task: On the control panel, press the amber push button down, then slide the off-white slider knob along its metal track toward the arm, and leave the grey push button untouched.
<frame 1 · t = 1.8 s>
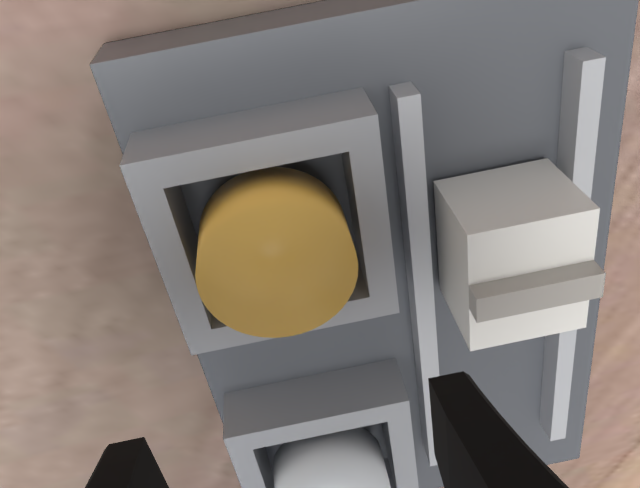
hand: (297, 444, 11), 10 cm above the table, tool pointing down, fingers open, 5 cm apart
amber button: (275, 253, 16), point 4 cm above the table, slide at 0.0 cm
slider knob: (513, 259, 17), point 4 cm above the table, slide at 0.0 cm
control panel: (388, 280, 22), on the table
grey button: (331, 484, 21), point 4 cm above the table, slide at 0.0 cm
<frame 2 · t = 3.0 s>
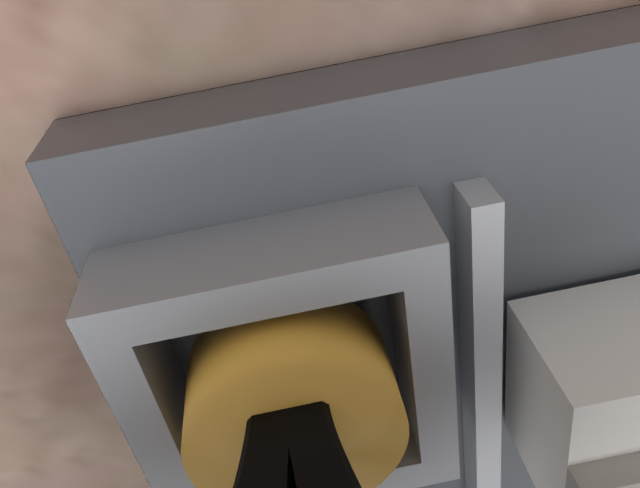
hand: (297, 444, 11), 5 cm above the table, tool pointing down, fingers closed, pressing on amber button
amber button: (292, 404, 11), point 4 cm above the table, slide at 0.5 cm, touching gripper
slider knob: (619, 412, 12), point 4 cm above the table, slide at 0.0 cm
control panel: (431, 396, 17), on the table
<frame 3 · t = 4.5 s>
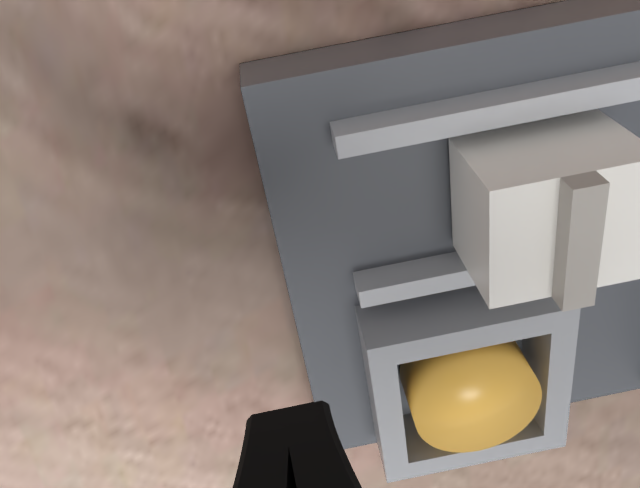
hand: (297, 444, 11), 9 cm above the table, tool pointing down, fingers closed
amber button: (467, 385, 19), point 3 cm above the table, slide at 1.0 cm
slider knob: (549, 212, 15), point 4 cm above the table, slide at 0.0 cm
control panel: (579, 212, 20), on the table
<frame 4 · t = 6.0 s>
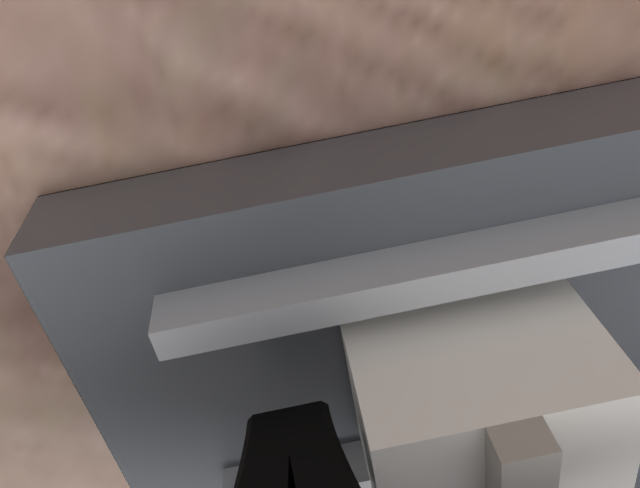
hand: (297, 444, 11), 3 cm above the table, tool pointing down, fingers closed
slider knob: (483, 432, 10), point 4 cm above the table, slide at 0.0 cm, touching gripper
control panel: (544, 358, 15), on the table
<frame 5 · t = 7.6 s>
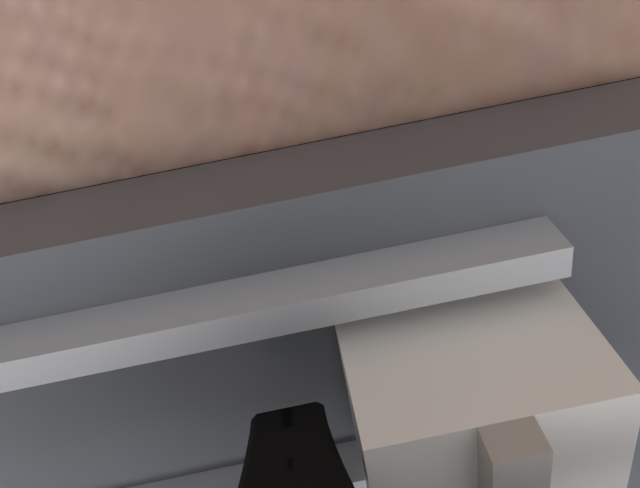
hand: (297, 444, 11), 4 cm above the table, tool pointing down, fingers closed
slider knob: (477, 431, 10), point 4 cm above the table, slide at 8.0 cm, touching gripper
control panel: (228, 423, 15), on the table
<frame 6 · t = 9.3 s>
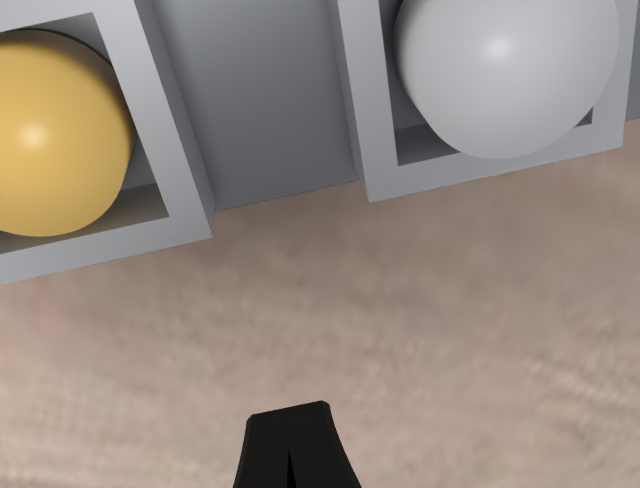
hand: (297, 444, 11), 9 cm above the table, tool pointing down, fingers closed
amber button: (36, 135, 13), point 3 cm above the table, slide at 1.0 cm
grey button: (498, 49, 12), point 4 cm above the table, slide at 0.0 cm
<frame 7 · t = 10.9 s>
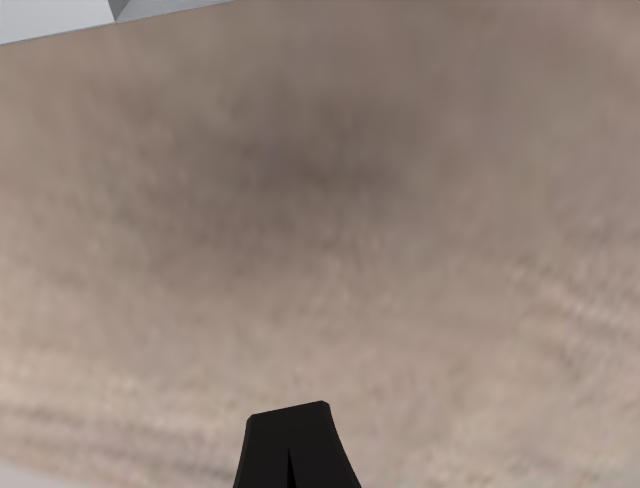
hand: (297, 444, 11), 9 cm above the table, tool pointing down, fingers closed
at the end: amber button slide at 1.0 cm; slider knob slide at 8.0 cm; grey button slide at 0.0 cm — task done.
